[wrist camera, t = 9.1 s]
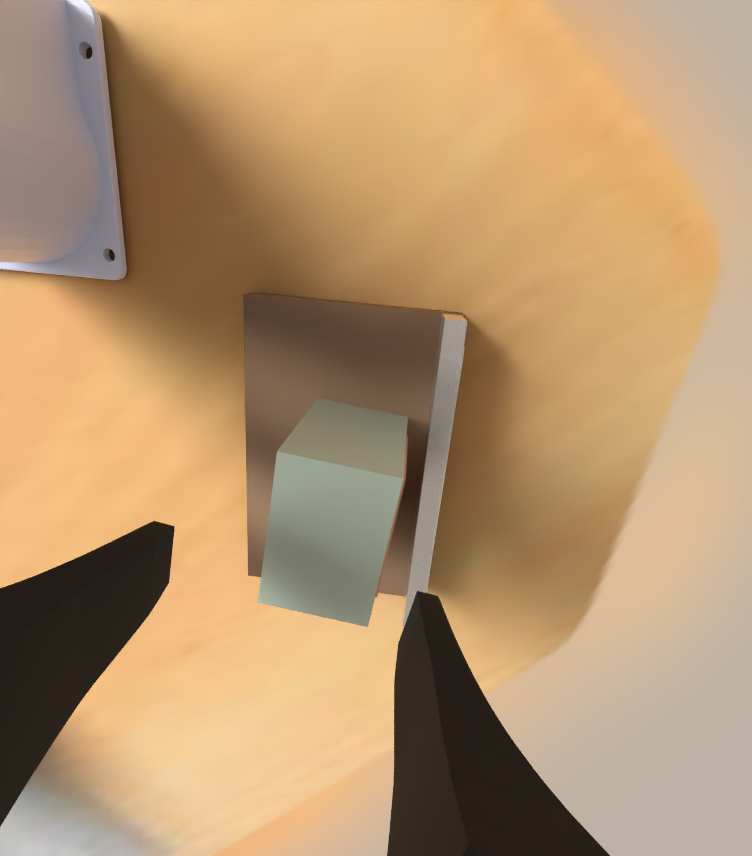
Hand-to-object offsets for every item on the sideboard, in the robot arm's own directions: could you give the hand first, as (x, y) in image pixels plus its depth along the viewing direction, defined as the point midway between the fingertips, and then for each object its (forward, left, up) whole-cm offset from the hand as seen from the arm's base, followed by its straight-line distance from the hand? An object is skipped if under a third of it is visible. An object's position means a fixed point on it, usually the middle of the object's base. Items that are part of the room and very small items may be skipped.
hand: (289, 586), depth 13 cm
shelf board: (0, 0, -9) cm, 9 cm away
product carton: (0, +1, -8) cm, 8 cm away
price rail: (0, +4, -8) cm, 9 cm away
